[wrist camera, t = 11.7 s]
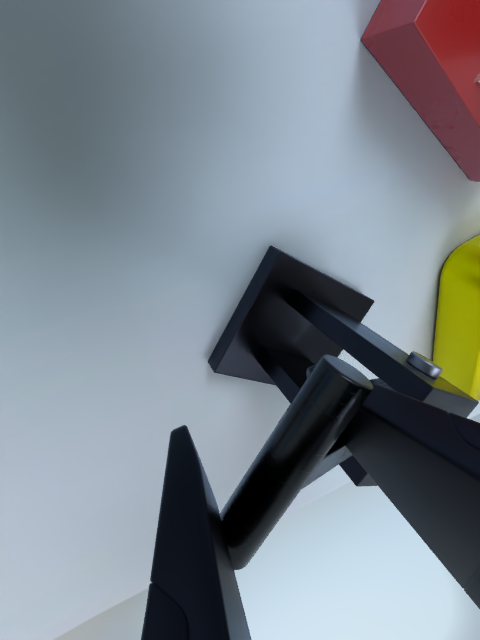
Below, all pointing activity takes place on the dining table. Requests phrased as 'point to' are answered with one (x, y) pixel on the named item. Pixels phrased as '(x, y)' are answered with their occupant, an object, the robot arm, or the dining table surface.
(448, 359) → the element tile
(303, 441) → the black lever handle
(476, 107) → the dial panel
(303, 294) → the lever bracket
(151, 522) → the dining table surface
